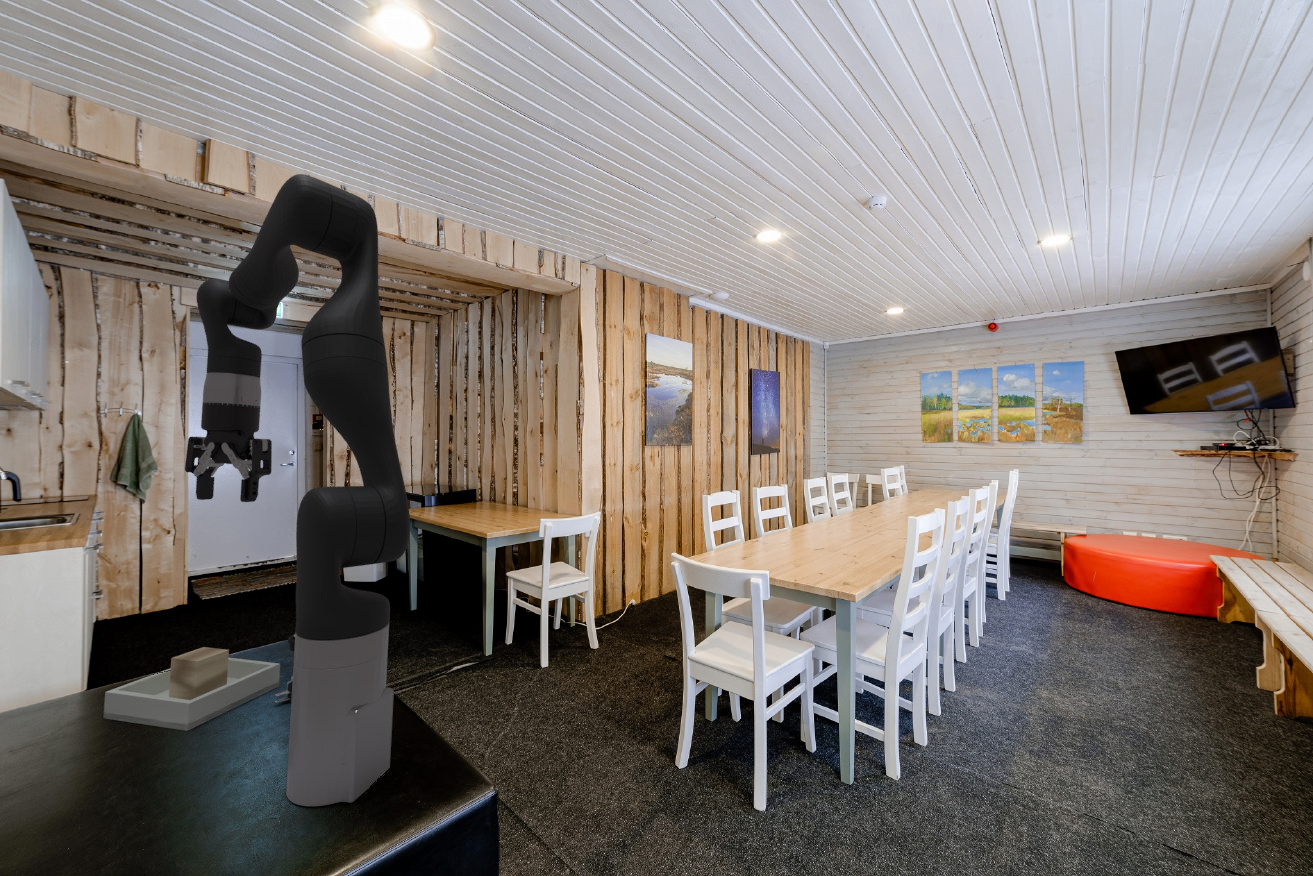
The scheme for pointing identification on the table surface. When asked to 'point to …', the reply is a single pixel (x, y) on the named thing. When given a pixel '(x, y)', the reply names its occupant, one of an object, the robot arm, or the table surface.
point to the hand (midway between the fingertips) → (226, 500)
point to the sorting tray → (156, 708)
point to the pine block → (198, 672)
